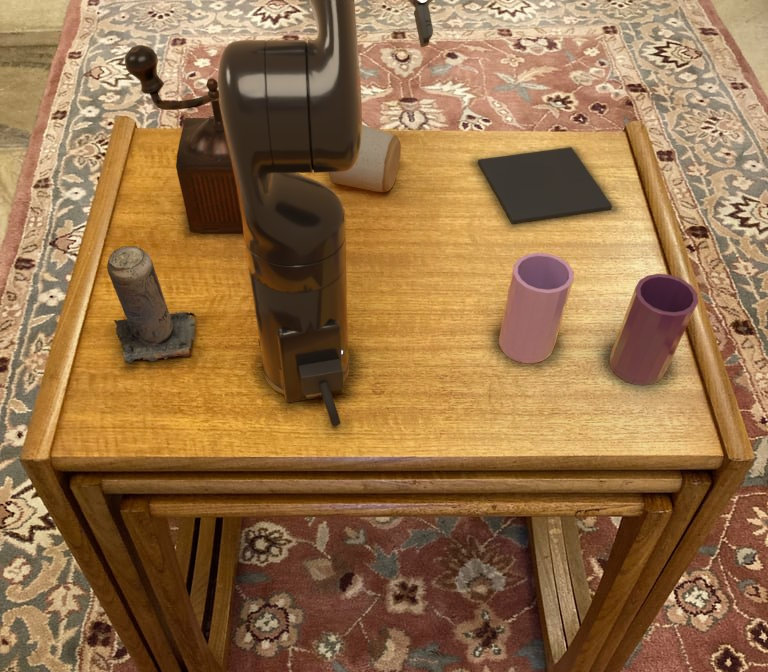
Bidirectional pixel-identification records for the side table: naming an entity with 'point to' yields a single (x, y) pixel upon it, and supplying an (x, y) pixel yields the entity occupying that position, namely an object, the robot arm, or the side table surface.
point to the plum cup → (652, 328)
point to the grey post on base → (146, 310)
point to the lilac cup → (535, 307)
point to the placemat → (543, 185)
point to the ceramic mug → (373, 162)
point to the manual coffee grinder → (196, 153)
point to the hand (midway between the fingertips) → (389, 53)
